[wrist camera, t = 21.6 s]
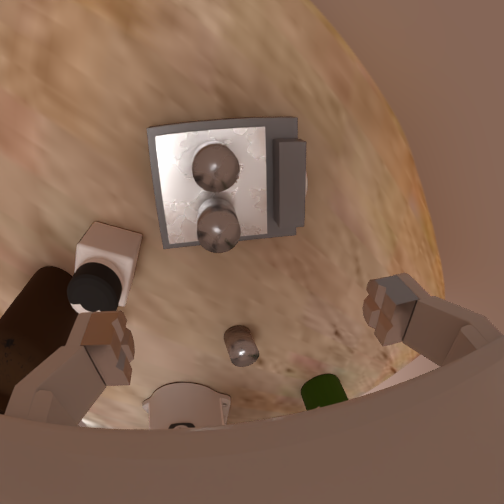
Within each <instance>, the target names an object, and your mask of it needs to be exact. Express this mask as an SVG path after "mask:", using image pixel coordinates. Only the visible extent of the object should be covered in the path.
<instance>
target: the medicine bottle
mask: <svg viewBox="0 0 504 504" xmlns="http://www.w3.org/2000/svg"><path fill="white" fill-rule="evenodd" d="M141 241H142V234H139V233H136V232H132V231H128V230H125V229H121V228H118V227H114V226H110V225H107V224H103V223H99V222H93V224H92V225H91V226H90V228H89V229H88V230H87V232H86V233H85V234H84V236H83V237H82V238H81V240H80V241H79V243H78V244H77V250H76V260H75V274H74V275H73V277H72V279H71V280H70V282H69V284H68V287H67V296H68V300H69V302H70V304H71V305H72V307H73V308H74V309H75V311H76V312H78V313H79V314H80V313H83V312H102V311H116V310H117V307H118V305H119V306H125V305H126V302H127V298H128V295H129V291H130V288H131V284H132V281H133V277H134V273H135V268H136V263H137V258H138V254H139V249H140V245H141Z"/></svg>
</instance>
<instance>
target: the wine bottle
mask: <svg viewBox="0 0 504 504" xmlns="http://www.w3.org/2000/svg"><path fill="white" fill-rule="evenodd" d="M301 395H302V398H303V401H304V404H305V407H306V409H307V411H308V410H312V409H317V408H321V407H325V406H329V405H333V404H336V403H340V402H344V401H347V400H348V398H347V396H346V394H345V391H344V389H343V387H342V385H341V383H340V381H339V379H338V378H337V377H336V376H335V375H333V374H323V375H319V376H317V377H314V378H312V379H311V380H309V381H308V382H306V383H305V384H304V386H303V387H302V389H301Z"/></svg>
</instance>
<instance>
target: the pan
mask: <svg viewBox="0 0 504 504" xmlns="http://www.w3.org/2000/svg"><path fill="white" fill-rule="evenodd" d="M155 139H156V149H157V158H158V167H159V175H160V183H161V191H162V198H163V205H164V212H165V219H166V225H167V232H168V238H169V244H175V243H184V242H193V241H198V238H197V214H198V210H199V208H200V206H201V205H202V204H203V203H204V202H205V201H207V200H209V199H211V198H223V199H225V200H227V201H229V202H230V203H231V204H232V205H233V207H234V209H235V212H236V215H237V218H238V222H239V225H240V229H241V236H249V235H259V234H267V185H266V137H265V127H264V126H263V127H240V128H224V129H211V130H200V131H190V132H181V133H173V134H165V135H158V136H155ZM208 141H219V142H222V143H224V144H225V145H227V146H228V147H229V149H230V150H231V151H232V152H233V153H234V154H235V156H236V157H237V159H238V161H239V165H240V172H239V176H238V179H237V180H236V182H235V183H234V184H233V185H232V186H231V187H230V188H229V189H227V190H225V191H222V192H209V191H206V190H204V189H202V188H201V187H200V186H198V184H197V183H196V182H195V180H194V178H193V174H192V161H193V155H194V153H195V151H196V149H197V148H198V147H199V146H200V145H202V144H203V143H205V142H208Z"/></svg>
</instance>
